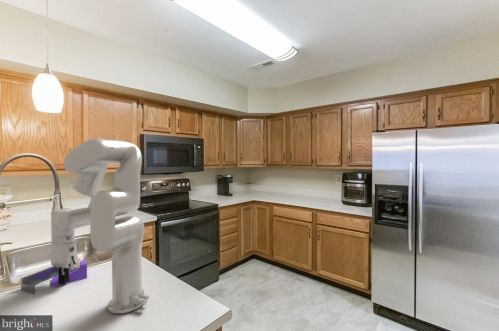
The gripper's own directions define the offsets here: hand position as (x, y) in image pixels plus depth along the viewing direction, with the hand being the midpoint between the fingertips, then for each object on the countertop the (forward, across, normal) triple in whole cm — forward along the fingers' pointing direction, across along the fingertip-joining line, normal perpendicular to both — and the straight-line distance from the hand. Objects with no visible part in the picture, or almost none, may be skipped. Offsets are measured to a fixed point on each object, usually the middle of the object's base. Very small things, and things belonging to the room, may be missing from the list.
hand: (63, 282), depth 99 cm
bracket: (+2, +3, -4) cm, 5 cm away
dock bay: (+1, +7, 0) cm, 7 cm away
